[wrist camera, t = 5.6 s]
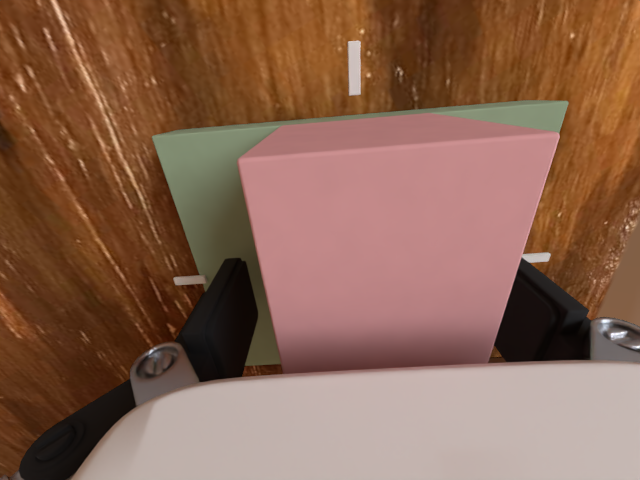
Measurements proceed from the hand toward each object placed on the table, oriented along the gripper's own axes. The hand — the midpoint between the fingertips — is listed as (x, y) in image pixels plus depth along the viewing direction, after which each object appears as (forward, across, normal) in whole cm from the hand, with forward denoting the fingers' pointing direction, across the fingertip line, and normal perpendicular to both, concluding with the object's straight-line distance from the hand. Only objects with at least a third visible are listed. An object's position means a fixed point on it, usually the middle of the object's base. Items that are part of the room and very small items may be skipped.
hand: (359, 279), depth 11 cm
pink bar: (+1, 0, 0) cm, 1 cm away
